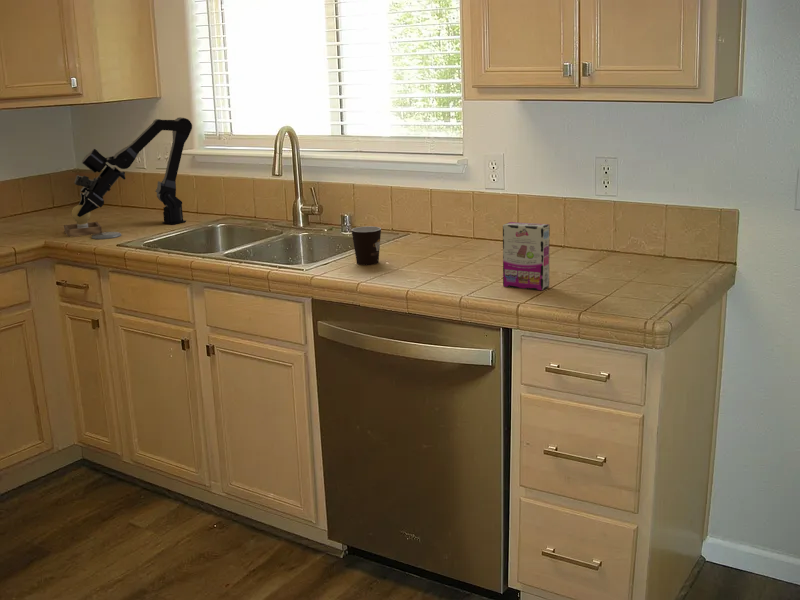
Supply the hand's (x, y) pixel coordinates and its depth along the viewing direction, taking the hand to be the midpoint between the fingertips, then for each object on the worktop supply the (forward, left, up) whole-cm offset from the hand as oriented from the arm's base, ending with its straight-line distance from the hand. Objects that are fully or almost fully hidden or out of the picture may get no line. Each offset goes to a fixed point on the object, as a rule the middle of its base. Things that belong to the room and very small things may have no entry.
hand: (77, 214), depth 325 cm
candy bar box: (-9, +176, -7) cm, 176 cm away
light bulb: (-1, +1, -7) cm, 7 cm away
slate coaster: (-1, +15, -7) cm, 16 cm away
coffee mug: (-13, +123, -7) cm, 124 cm away
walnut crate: (-1, +1, -7) cm, 7 cm away
